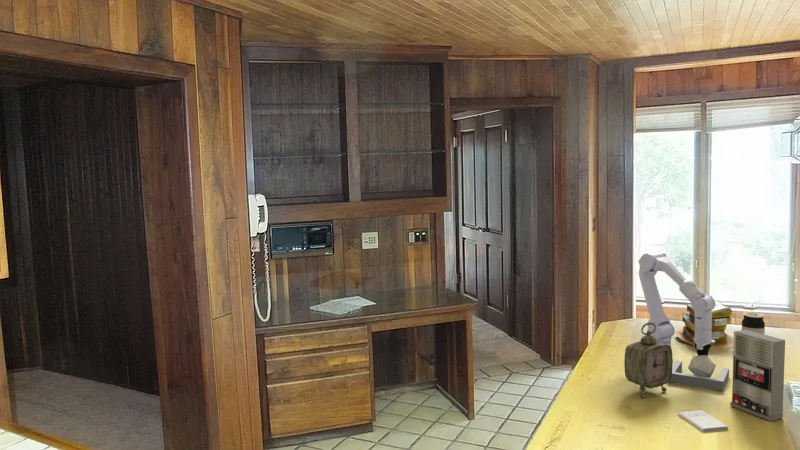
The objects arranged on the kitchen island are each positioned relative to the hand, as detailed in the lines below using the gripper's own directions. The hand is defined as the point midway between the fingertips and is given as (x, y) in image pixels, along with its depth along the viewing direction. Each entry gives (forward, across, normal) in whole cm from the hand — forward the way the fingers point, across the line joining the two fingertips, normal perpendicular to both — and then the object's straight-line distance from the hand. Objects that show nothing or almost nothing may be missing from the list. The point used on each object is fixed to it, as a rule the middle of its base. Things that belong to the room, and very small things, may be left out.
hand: (702, 363), depth 230 cm
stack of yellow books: (+4, +47, +5) cm, 47 cm away
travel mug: (+4, +29, -14) cm, 33 cm away
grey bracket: (+4, -7, 0) cm, 8 cm away
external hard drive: (+5, -46, -7) cm, 47 cm away
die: (+4, -4, 0) cm, 6 cm away
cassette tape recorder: (+4, -30, -20) cm, 36 cm away
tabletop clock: (+4, -30, +13) cm, 33 cm away
